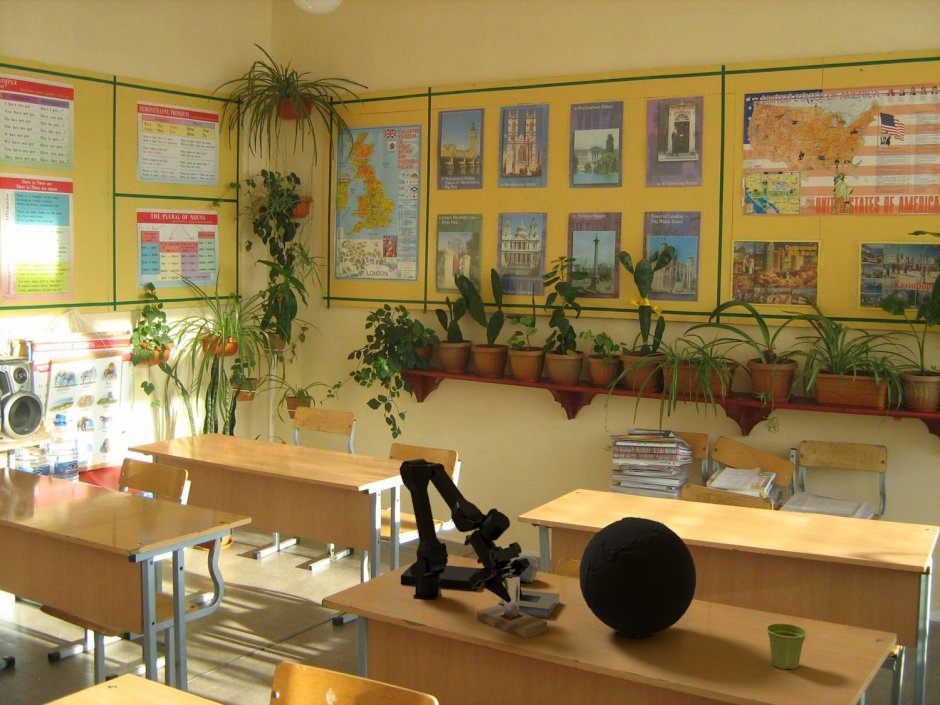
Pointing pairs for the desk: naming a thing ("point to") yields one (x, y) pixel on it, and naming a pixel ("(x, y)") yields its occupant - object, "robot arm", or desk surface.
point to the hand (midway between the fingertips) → (515, 600)
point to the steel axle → (512, 596)
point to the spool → (530, 571)
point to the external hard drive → (447, 577)
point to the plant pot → (786, 644)
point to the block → (537, 603)
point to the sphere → (637, 576)
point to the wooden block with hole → (512, 621)
